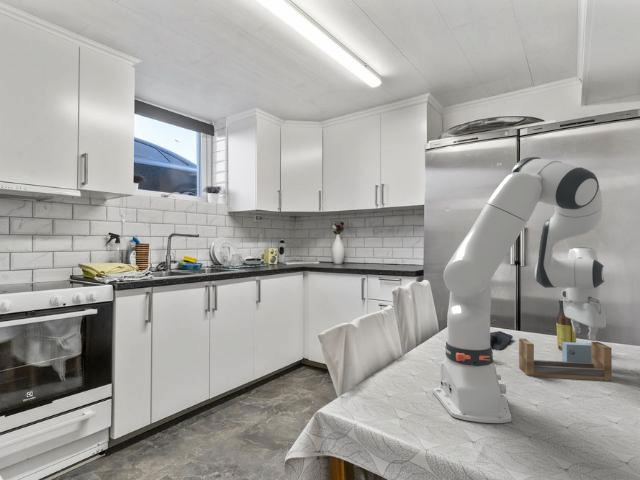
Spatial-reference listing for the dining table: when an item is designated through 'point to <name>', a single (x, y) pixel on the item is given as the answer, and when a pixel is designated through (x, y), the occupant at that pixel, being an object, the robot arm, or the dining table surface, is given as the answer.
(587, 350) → the door panel
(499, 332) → the dark grey flat piece
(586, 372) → the wooden rack
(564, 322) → the sauce bottle
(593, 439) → the dining table surface
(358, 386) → the dining table surface
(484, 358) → the robot arm
